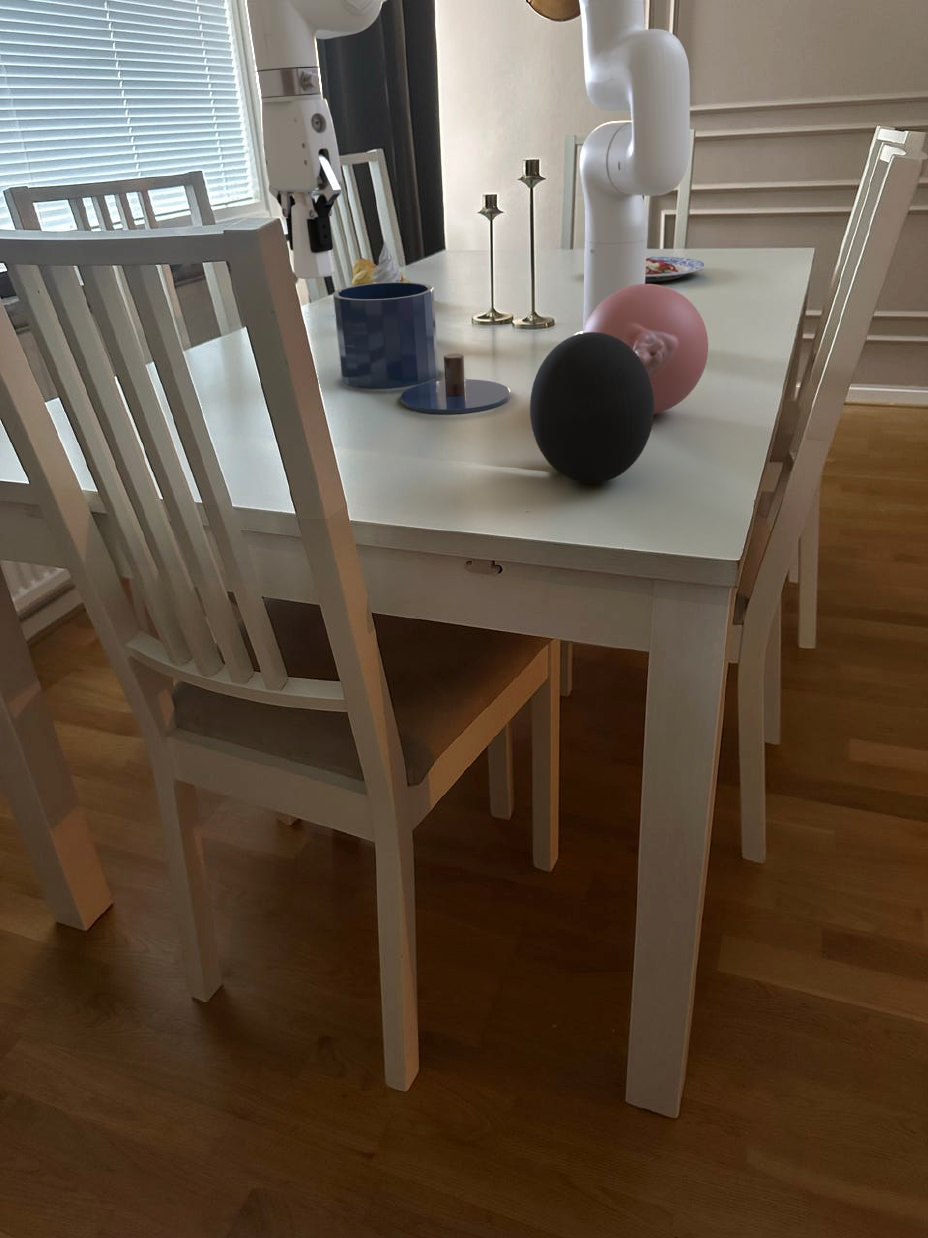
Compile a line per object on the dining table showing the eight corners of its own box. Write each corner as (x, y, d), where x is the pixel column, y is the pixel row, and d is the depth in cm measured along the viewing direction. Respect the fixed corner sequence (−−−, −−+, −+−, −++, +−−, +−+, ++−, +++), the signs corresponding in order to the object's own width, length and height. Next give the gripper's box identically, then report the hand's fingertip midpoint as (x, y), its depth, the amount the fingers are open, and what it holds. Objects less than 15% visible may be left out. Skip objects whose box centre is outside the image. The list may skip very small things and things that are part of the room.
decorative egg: (635, 507, 90) (643, 351, 82) (514, 495, 94) (512, 344, 87) (660, 465, 100) (669, 322, 92) (550, 455, 104) (550, 317, 96)
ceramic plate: (567, 273, 212) (567, 259, 210) (668, 262, 218) (669, 249, 216) (616, 290, 190) (617, 275, 188) (727, 278, 196) (729, 263, 195)
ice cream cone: (401, 333, 163) (394, 242, 156) (373, 333, 164) (365, 242, 157) (408, 327, 167) (402, 238, 160) (381, 327, 168) (373, 238, 161)
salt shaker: (290, 274, 123) (277, 183, 118) (330, 269, 124) (318, 179, 119) (298, 280, 118) (285, 186, 113) (339, 275, 120) (328, 182, 115)
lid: (526, 392, 127) (526, 346, 124) (483, 423, 115) (481, 373, 112) (431, 384, 133) (429, 340, 130) (381, 413, 121) (377, 365, 118)
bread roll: (418, 296, 194) (415, 255, 190) (405, 305, 186) (402, 262, 182) (359, 296, 197) (356, 256, 193) (344, 305, 189) (340, 263, 185)
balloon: (564, 442, 108) (565, 305, 100) (586, 394, 124) (588, 274, 117) (700, 446, 104) (712, 305, 97) (704, 397, 121) (714, 273, 113)
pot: (453, 370, 139) (449, 283, 133) (410, 395, 128) (403, 301, 122) (372, 364, 144) (365, 280, 138) (324, 388, 133) (313, 297, 127)
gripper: (358, 82, 108) (375, 249, 117) (275, 89, 118) (297, 242, 127) (306, 85, 103) (328, 258, 112) (225, 92, 114) (251, 250, 123)
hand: (311, 248), depth 120 cm, fingers closed on salt shaker, 3 cm apart
